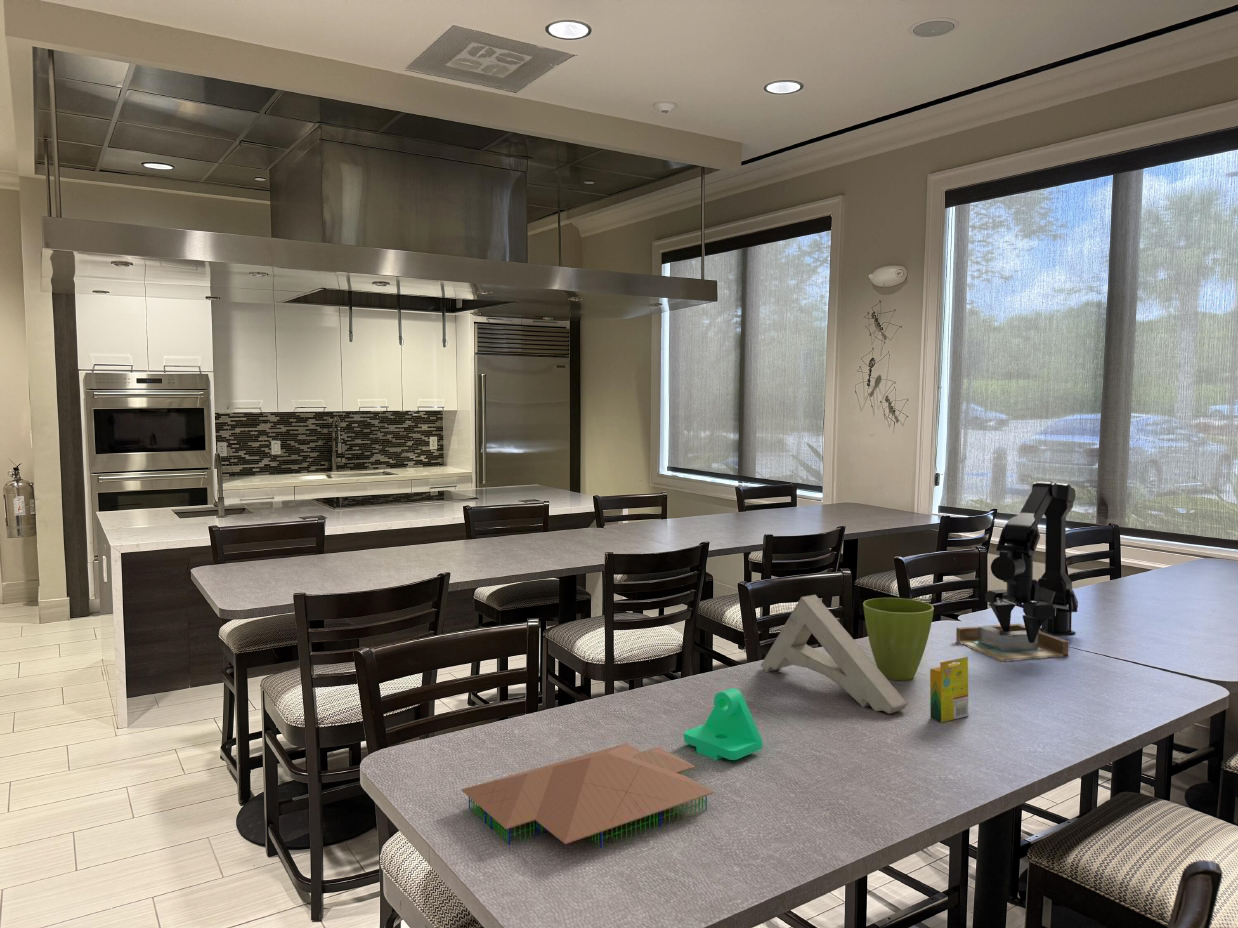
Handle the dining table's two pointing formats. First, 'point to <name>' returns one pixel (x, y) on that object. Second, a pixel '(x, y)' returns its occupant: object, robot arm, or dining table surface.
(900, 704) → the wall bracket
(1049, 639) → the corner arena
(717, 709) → the camera mount
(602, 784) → the house
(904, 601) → the flower pot
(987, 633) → the angle bracket
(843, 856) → the dining table surface
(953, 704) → the crayon box
